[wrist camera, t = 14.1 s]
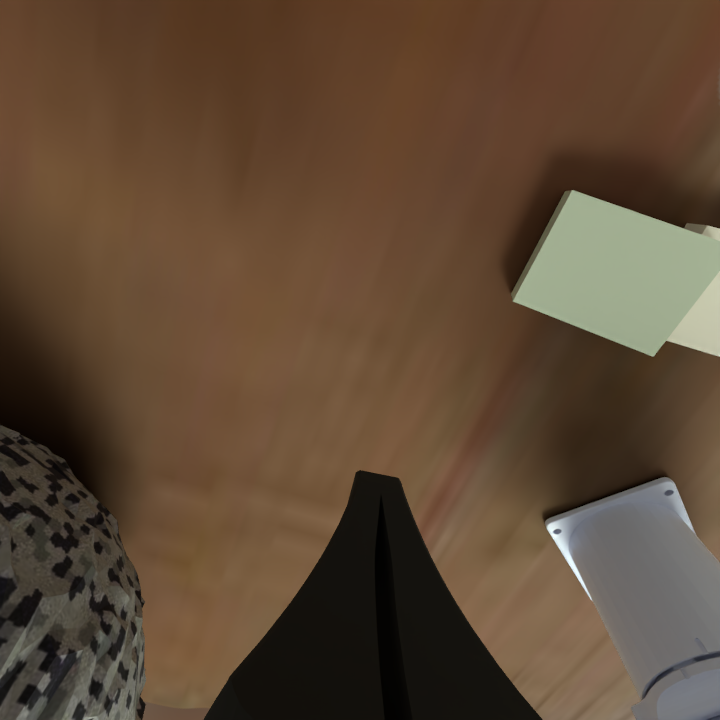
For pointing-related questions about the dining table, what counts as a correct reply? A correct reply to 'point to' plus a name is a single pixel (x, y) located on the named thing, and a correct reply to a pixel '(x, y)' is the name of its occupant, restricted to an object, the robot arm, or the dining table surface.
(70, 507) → the bowl
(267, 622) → the dining table surface
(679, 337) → the tile
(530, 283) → the tile
